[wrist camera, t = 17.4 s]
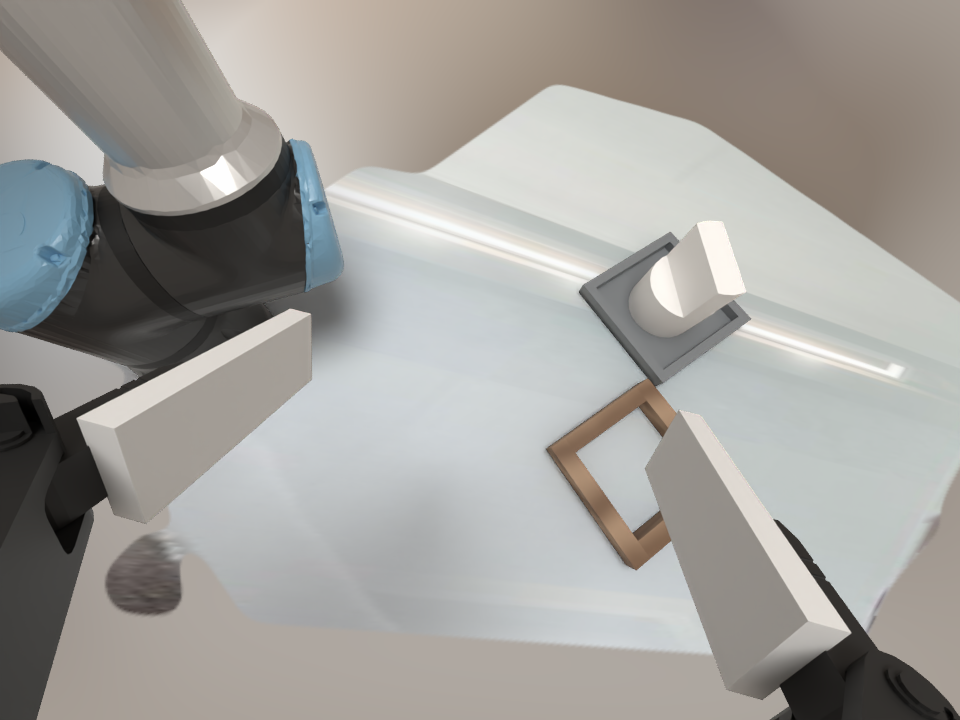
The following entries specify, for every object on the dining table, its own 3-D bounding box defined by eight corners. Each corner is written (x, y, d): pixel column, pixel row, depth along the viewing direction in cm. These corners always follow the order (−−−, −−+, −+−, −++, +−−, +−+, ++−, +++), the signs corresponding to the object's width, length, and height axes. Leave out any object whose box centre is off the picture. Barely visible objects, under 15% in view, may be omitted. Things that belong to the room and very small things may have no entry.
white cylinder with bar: (622, 279, 50) (669, 222, 39) (684, 276, 51) (748, 219, 39) (636, 339, 48) (690, 297, 36) (700, 335, 48) (774, 292, 37)
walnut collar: (546, 448, 43) (550, 447, 41) (638, 383, 46) (648, 378, 44) (625, 564, 40) (636, 570, 38) (720, 485, 43) (735, 486, 41)
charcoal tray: (578, 292, 50) (583, 284, 48) (663, 240, 53) (670, 231, 51) (654, 386, 46) (663, 382, 45) (740, 324, 50) (751, 319, 48)
